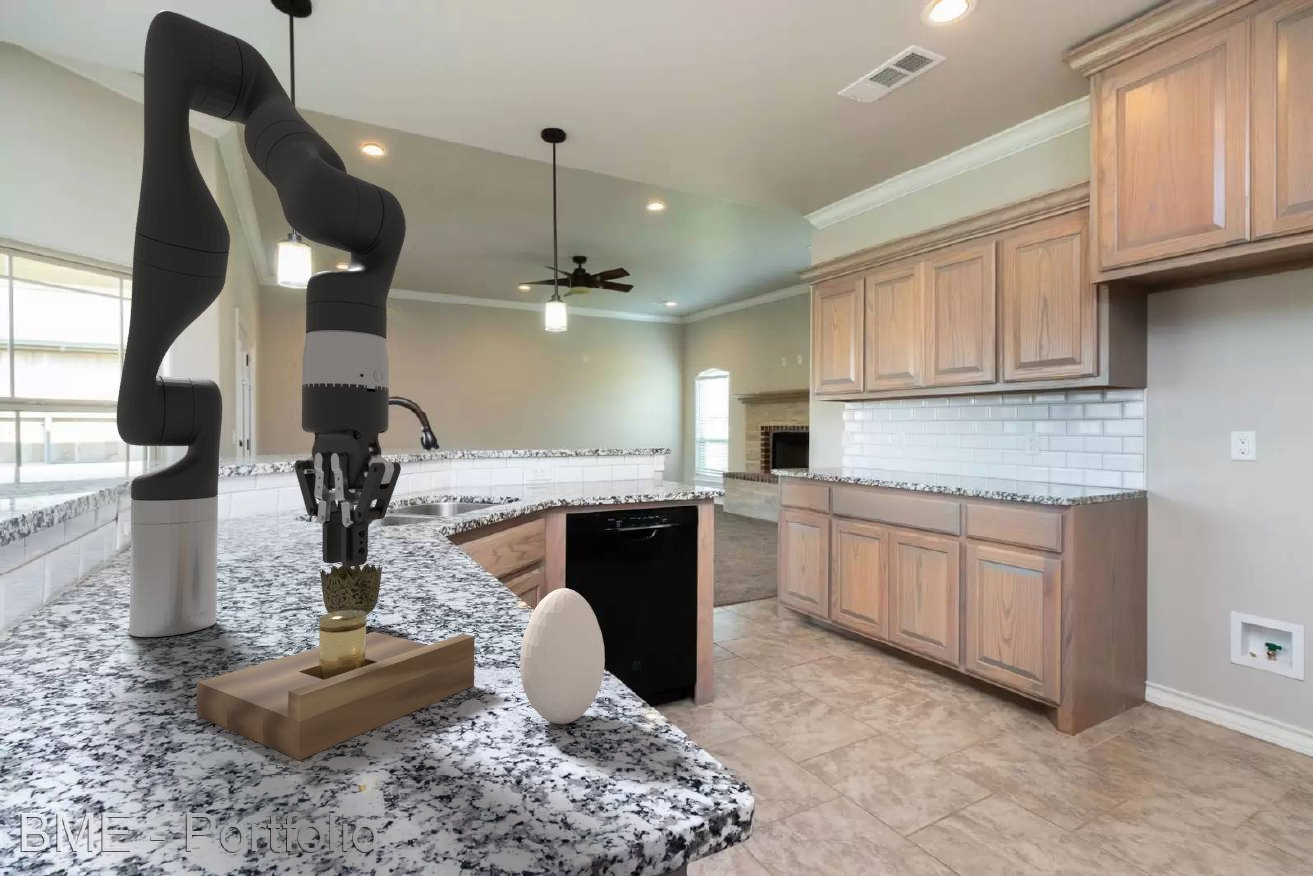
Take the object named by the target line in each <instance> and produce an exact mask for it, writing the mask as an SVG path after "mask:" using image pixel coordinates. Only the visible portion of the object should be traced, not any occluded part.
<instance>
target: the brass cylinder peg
mask: <svg viewBox="0 0 1313 876" xmlns="http://www.w3.org/2000/svg"><path fill="white" fill-rule="evenodd" d="M367 619H368V615H367V613H366V612H364V611H358V610H347V611H337V612H332V613H328V612H327V613H325V614H322V615H320V616H319V617H318V630H319V643H318V645H319V647H318V648H319V678H320V679H323V680H325V679H328V678H331V677H334V676H337V675H340V674H343V673H346V672H349V671H352V670H355V669H358V668H361V667H364V666H365V652H366V634H367V622H368V621H367Z"/></svg>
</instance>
